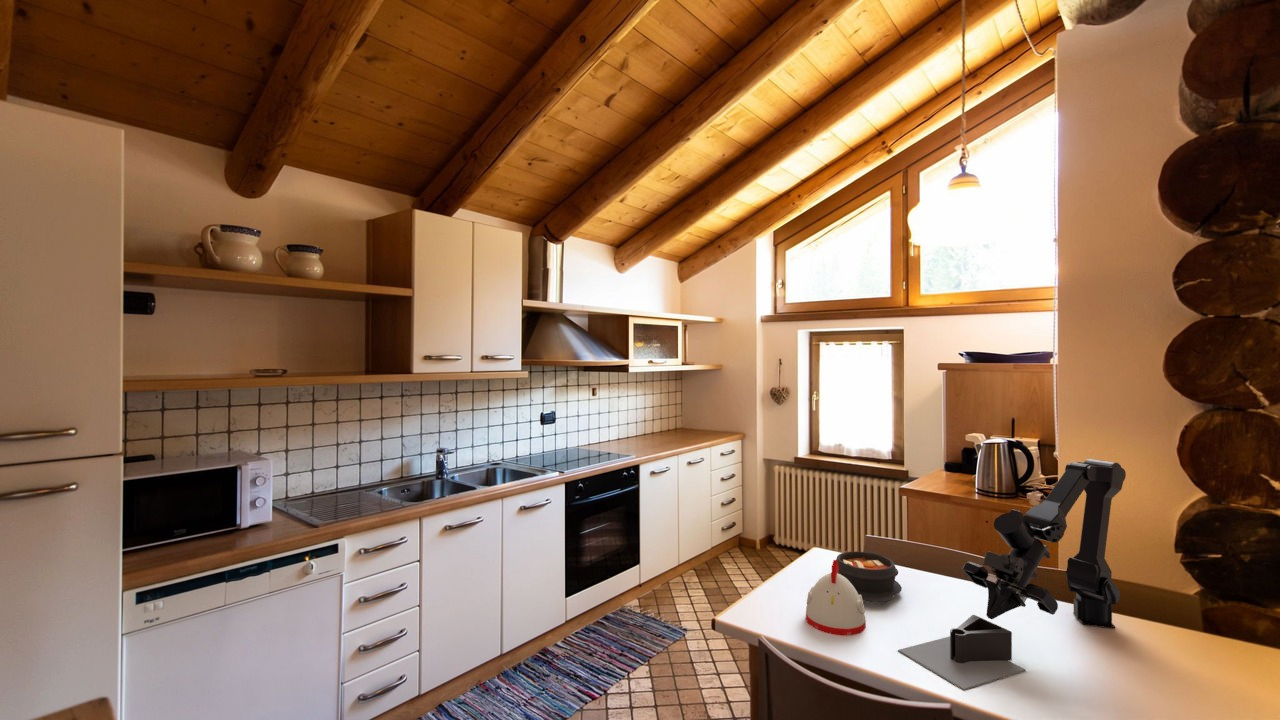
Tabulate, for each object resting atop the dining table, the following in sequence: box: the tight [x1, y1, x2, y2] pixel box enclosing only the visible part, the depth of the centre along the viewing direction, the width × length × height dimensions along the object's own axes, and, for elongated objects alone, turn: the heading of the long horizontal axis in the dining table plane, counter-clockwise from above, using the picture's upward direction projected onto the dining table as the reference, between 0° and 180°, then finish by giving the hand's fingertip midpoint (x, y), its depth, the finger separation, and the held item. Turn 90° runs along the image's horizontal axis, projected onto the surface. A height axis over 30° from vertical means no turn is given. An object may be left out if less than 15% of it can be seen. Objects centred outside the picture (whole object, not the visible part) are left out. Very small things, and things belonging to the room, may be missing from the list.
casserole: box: [835, 551, 902, 603], centre depth 158 cm, size 25×19×8 cm
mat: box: [897, 635, 1027, 691], centre depth 121 cm, size 18×16×1 cm
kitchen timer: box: [805, 559, 867, 636], centre depth 139 cm, size 14×14×15 cm
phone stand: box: [949, 614, 1013, 663], centre depth 122 cm, size 9×6×12 cm
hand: (989, 617), depth 124 cm, fingers closed
